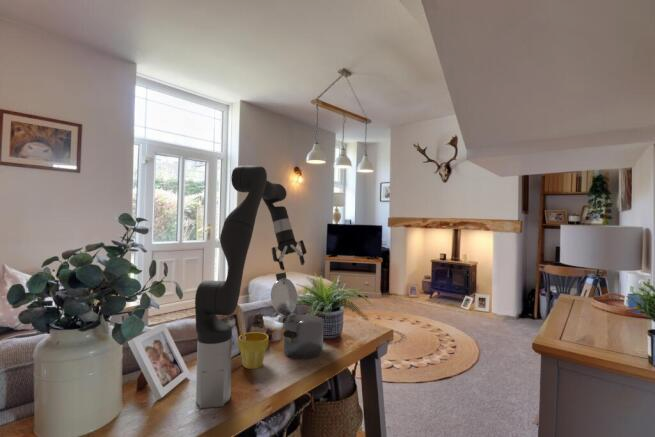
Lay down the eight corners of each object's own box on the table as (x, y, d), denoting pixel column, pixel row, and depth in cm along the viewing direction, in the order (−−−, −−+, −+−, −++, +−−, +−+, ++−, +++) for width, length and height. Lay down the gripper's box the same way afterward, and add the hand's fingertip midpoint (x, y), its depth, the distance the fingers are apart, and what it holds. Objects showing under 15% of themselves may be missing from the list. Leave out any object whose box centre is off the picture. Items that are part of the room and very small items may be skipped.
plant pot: (273, 360, 124) (273, 333, 124) (259, 373, 114) (260, 343, 114) (247, 356, 127) (247, 330, 126) (231, 368, 117) (232, 339, 117)
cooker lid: (293, 270, 145) (289, 271, 146) (269, 275, 133) (265, 276, 134) (299, 310, 143) (295, 311, 144) (276, 319, 131) (272, 319, 132)
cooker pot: (333, 347, 137) (333, 316, 137) (303, 365, 121) (304, 330, 121) (299, 338, 146) (299, 309, 146) (267, 353, 130) (268, 321, 130)
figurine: (260, 338, 146) (261, 309, 146) (269, 343, 141) (270, 313, 141) (245, 341, 141) (246, 312, 141) (254, 347, 136) (255, 316, 136)
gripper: (268, 233, 142) (278, 271, 140) (301, 225, 147) (311, 262, 145) (266, 236, 149) (275, 272, 147) (297, 228, 154) (306, 264, 152)
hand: (293, 267), depth 146 cm, fingers open, 8 cm apart
